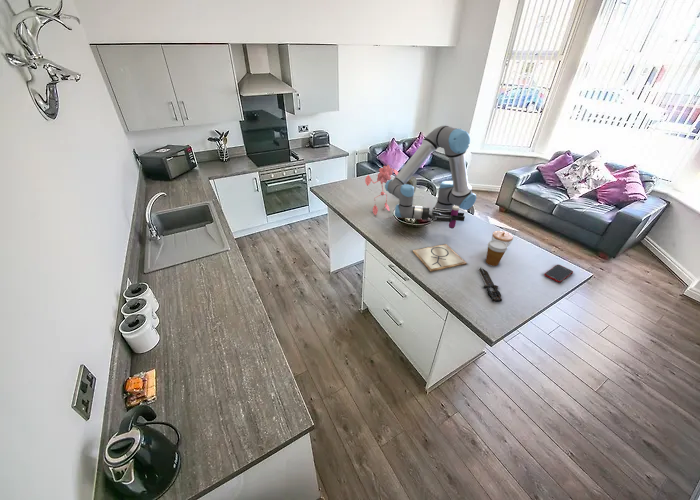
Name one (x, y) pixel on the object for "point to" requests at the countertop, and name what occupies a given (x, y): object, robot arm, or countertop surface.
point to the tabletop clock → (412, 182)
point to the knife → (491, 286)
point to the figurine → (382, 177)
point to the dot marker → (454, 212)
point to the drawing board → (439, 257)
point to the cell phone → (558, 273)
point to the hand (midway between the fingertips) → (463, 217)
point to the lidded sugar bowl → (502, 237)
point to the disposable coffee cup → (495, 252)
